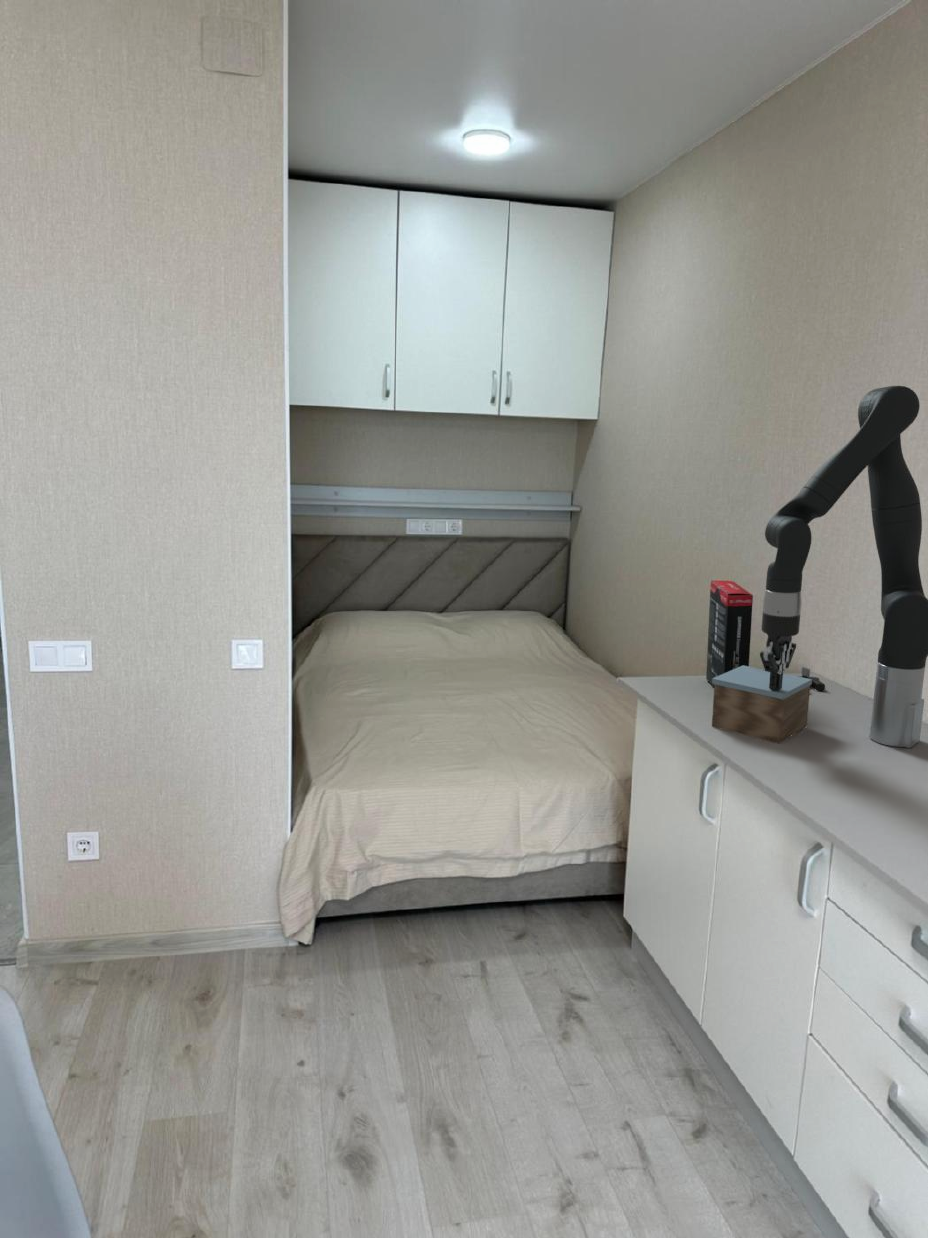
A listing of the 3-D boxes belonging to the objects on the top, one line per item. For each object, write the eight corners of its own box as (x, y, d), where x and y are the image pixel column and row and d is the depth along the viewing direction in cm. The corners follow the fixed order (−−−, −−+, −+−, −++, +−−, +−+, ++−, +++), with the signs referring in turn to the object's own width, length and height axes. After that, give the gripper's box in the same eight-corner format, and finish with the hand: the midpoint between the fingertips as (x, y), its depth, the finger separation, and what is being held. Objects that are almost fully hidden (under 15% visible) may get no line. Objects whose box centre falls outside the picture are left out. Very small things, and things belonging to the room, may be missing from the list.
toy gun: (772, 682, 237) (773, 665, 236) (820, 685, 235) (821, 667, 234) (776, 693, 228) (778, 675, 227) (826, 696, 226) (828, 678, 225)
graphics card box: (748, 700, 222) (756, 592, 216) (720, 700, 222) (727, 592, 216) (729, 680, 239) (735, 579, 232) (703, 680, 239) (709, 579, 232)
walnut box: (806, 727, 203) (810, 685, 201) (779, 743, 193) (782, 699, 191) (740, 711, 214) (743, 671, 211) (711, 726, 204) (714, 684, 202)
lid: (812, 684, 201) (813, 678, 200) (782, 699, 190) (783, 694, 190) (743, 670, 212) (743, 664, 212) (711, 684, 201) (712, 678, 201)
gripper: (785, 619, 181) (778, 700, 185) (812, 608, 191) (805, 686, 195) (750, 613, 187) (744, 692, 190) (778, 603, 196) (772, 679, 200)
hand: (775, 689), depth 193 cm, fingers closed
